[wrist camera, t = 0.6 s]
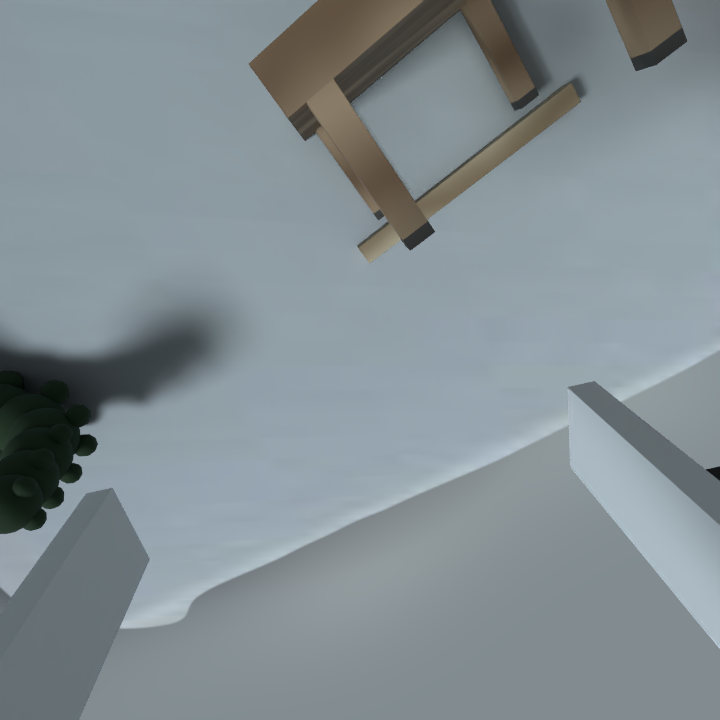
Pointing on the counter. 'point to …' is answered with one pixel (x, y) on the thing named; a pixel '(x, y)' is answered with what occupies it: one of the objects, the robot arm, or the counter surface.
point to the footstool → (385, 49)
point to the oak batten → (479, 165)
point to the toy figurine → (37, 450)
